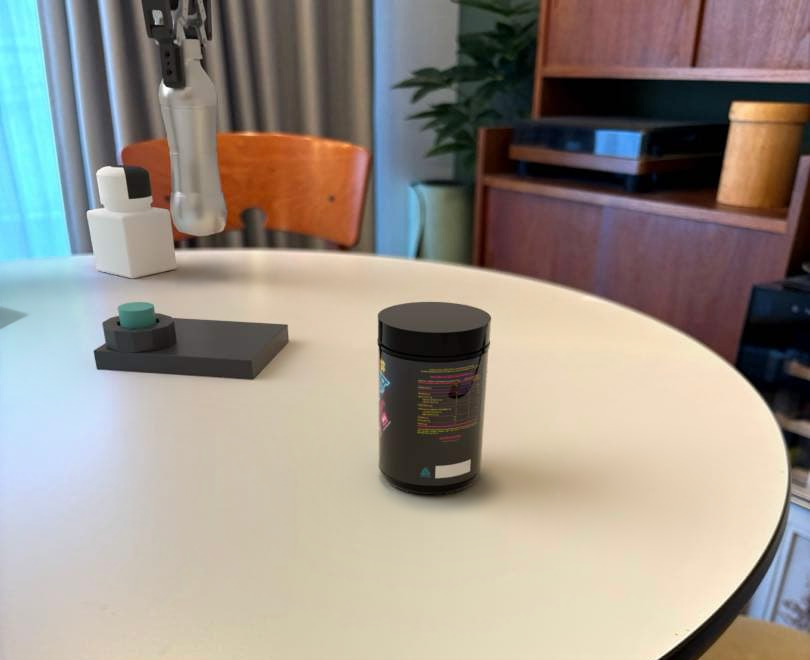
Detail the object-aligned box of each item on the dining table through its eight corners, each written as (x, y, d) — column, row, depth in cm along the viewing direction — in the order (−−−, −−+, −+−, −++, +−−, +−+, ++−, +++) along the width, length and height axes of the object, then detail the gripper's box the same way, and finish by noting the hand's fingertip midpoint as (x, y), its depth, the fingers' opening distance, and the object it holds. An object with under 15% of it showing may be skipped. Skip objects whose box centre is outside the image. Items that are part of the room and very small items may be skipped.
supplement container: (443, 446, 58) (448, 296, 53) (502, 483, 53) (515, 322, 48) (359, 467, 55) (356, 310, 50) (414, 509, 50) (417, 339, 45)
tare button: (114, 330, 71) (111, 309, 70) (130, 320, 73) (127, 301, 72) (148, 332, 70) (144, 311, 69) (162, 322, 73) (159, 302, 72)
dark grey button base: (96, 369, 71) (89, 329, 69) (149, 333, 81) (144, 297, 79) (252, 380, 69) (249, 339, 68) (289, 341, 79) (286, 304, 77)
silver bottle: (208, 228, 103) (191, 40, 93) (240, 236, 98) (225, 40, 88) (162, 234, 99) (139, 38, 89) (193, 242, 94) (172, 38, 84)
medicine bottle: (141, 261, 108) (127, 161, 102) (178, 269, 105) (165, 166, 99) (95, 271, 103) (77, 166, 97) (132, 279, 100) (115, 171, 94)
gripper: (161, -94, 89) (179, 84, 97) (97, -119, 77) (125, 87, 85) (228, -94, 88) (240, 86, 96) (175, -120, 76) (194, 89, 84)
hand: (186, 86), depth 91 cm, fingers closed on silver bottle, 6 cm apart
